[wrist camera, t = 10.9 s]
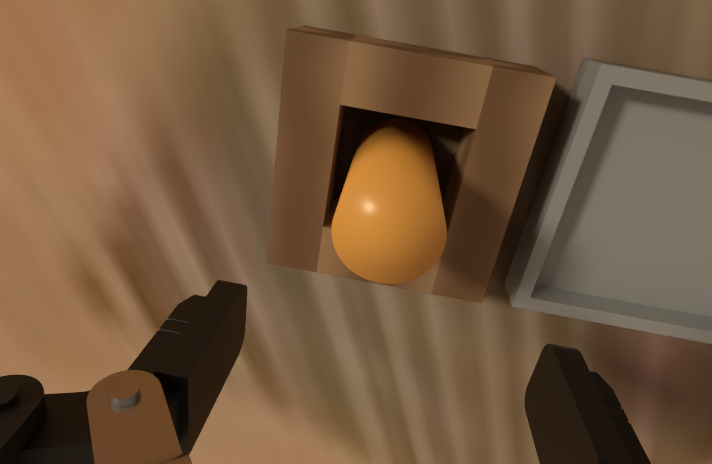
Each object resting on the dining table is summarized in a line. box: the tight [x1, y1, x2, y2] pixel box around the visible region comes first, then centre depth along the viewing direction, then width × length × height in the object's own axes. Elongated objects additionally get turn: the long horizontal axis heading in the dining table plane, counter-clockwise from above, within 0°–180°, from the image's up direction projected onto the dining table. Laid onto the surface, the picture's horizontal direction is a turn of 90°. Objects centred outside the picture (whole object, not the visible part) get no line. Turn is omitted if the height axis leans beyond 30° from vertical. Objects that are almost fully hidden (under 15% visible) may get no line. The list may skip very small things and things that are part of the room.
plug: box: [331, 119, 447, 284], centre depth 23 cm, size 4×4×10 cm
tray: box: [504, 58, 712, 344], centre depth 26 cm, size 14×14×2 cm
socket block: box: [267, 26, 556, 303], centre depth 25 cm, size 12×12×4 cm
